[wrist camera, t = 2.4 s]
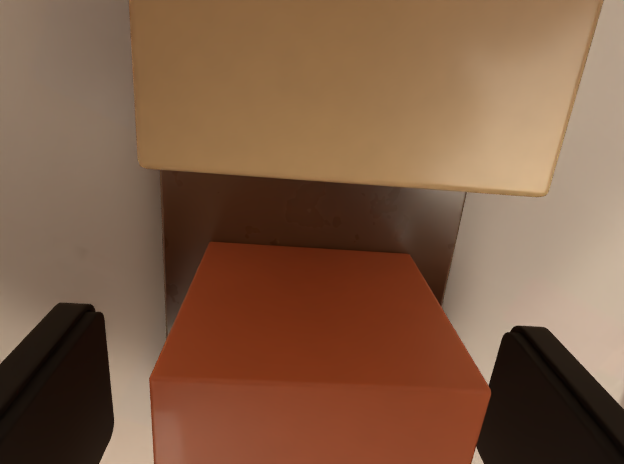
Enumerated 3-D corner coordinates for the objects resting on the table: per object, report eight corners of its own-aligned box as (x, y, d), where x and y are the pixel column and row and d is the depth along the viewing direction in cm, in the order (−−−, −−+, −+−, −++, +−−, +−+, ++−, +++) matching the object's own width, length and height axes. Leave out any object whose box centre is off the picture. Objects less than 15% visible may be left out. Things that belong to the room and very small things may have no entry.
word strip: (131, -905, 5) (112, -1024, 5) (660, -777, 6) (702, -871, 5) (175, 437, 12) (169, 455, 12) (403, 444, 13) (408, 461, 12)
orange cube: (209, 240, 10) (148, 377, 5) (409, 252, 10) (494, 391, 6) (208, 402, 11) (161, 602, 7) (381, 409, 11) (431, 604, 7)
